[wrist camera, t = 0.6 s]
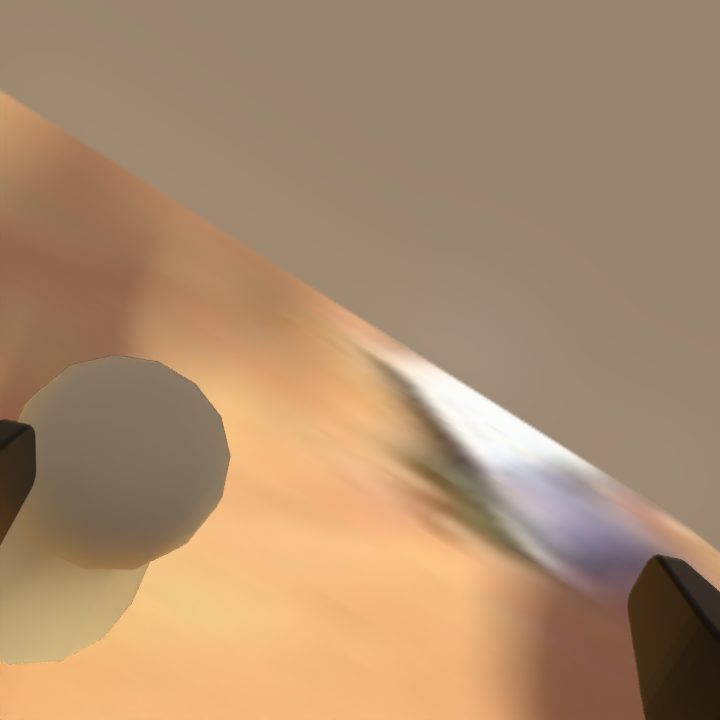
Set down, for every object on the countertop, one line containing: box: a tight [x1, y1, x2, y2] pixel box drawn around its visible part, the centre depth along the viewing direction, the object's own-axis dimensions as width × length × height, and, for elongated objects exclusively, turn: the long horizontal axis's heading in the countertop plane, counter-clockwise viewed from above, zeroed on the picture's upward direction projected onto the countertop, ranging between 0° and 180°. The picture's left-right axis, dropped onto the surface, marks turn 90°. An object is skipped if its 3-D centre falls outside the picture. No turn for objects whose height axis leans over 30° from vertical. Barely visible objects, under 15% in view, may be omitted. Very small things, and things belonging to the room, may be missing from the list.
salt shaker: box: [0, 355, 230, 665], centre depth 17 cm, size 6×6×13 cm
